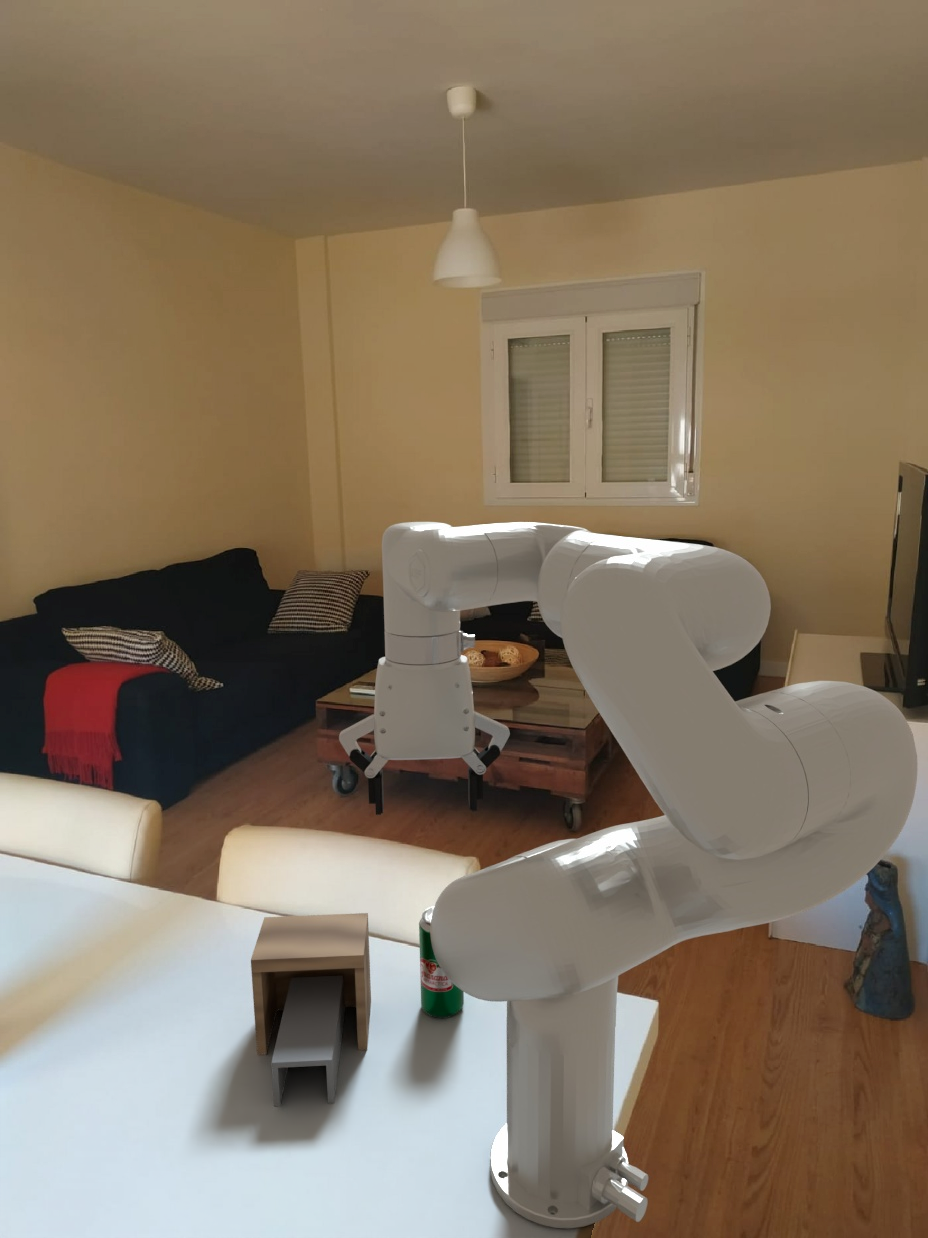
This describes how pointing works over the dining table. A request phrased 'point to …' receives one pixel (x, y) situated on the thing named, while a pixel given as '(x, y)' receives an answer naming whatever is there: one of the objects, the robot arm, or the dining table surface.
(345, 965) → the shelf
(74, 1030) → the dining table surface
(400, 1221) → the dining table surface
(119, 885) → the dining table surface
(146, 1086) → the dining table surface
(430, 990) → the soda can
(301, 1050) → the grey u-shaped piece
